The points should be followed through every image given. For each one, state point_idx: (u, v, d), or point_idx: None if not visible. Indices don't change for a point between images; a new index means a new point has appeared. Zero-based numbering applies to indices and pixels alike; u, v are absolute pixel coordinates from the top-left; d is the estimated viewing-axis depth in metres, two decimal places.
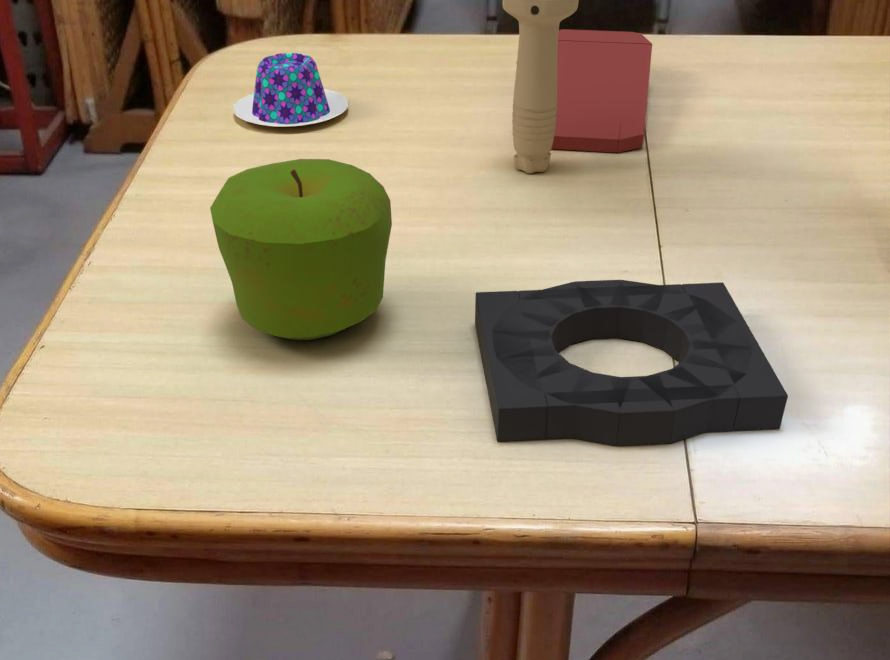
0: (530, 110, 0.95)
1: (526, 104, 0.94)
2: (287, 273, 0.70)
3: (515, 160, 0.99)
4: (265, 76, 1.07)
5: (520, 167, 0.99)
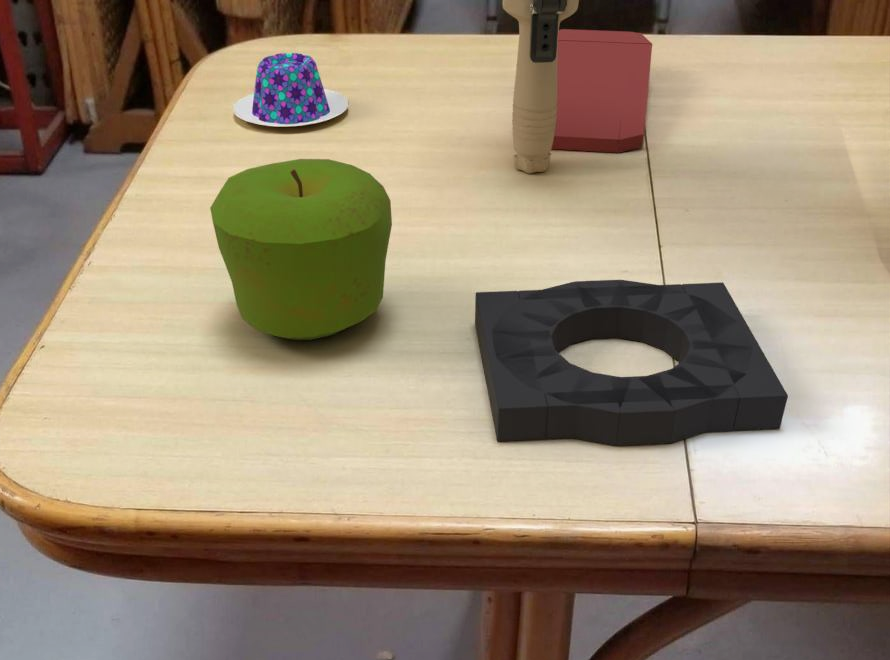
0: (530, 110, 0.95)
1: (526, 104, 0.94)
2: (287, 273, 0.70)
3: (515, 160, 0.99)
4: (265, 76, 1.07)
5: (520, 167, 0.99)
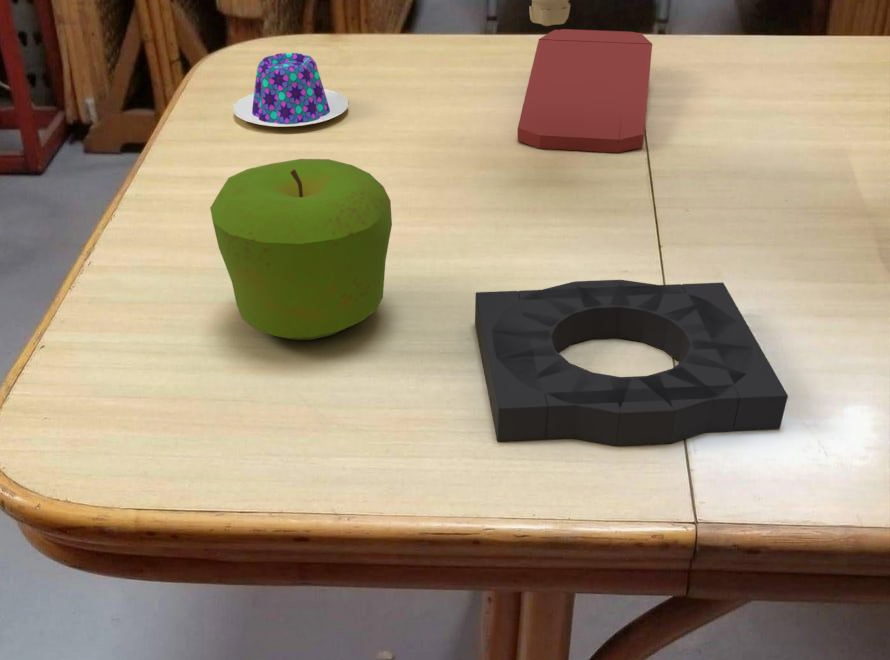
0: None
1: None
2: (287, 273, 0.70)
3: (530, 11, 0.89)
4: (265, 76, 1.07)
5: (536, 19, 0.89)
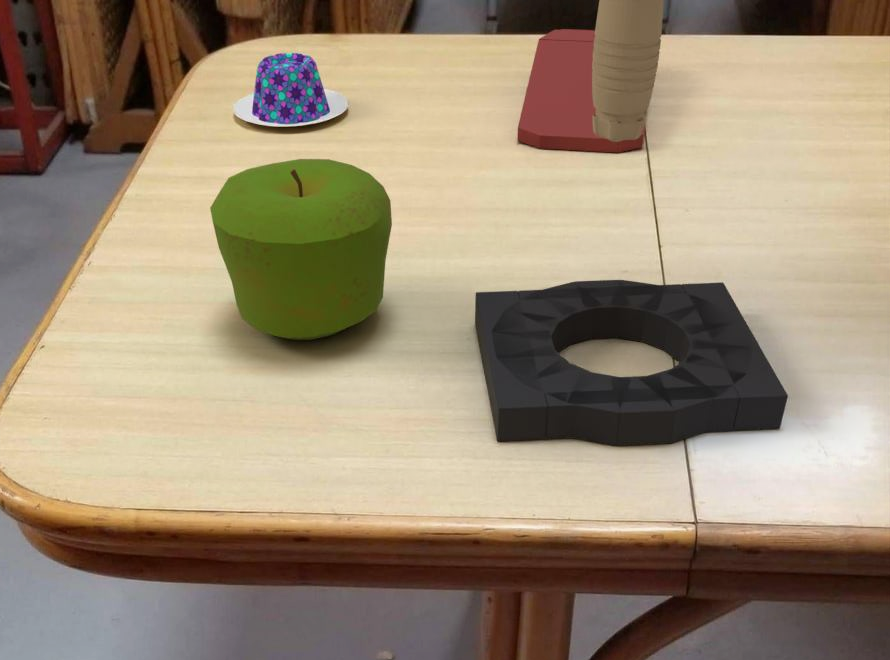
0: (621, 45, 0.63)
1: (616, 35, 0.63)
2: (287, 273, 0.70)
3: (594, 122, 0.67)
4: (265, 76, 1.07)
5: (601, 133, 0.67)
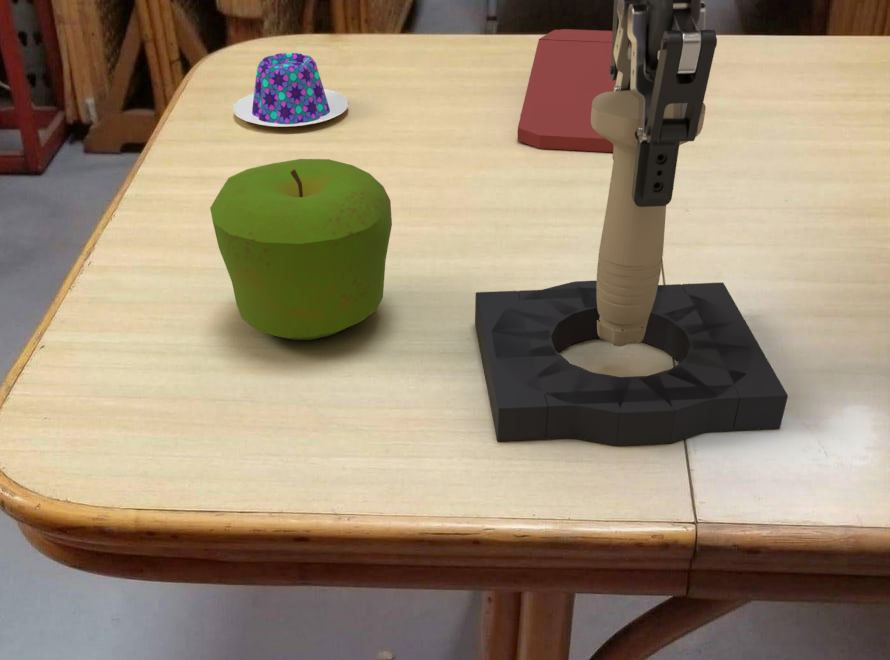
0: (625, 267, 0.66)
1: (620, 258, 0.66)
2: (287, 273, 0.70)
3: (599, 327, 0.70)
4: (265, 76, 1.07)
5: (606, 337, 0.70)
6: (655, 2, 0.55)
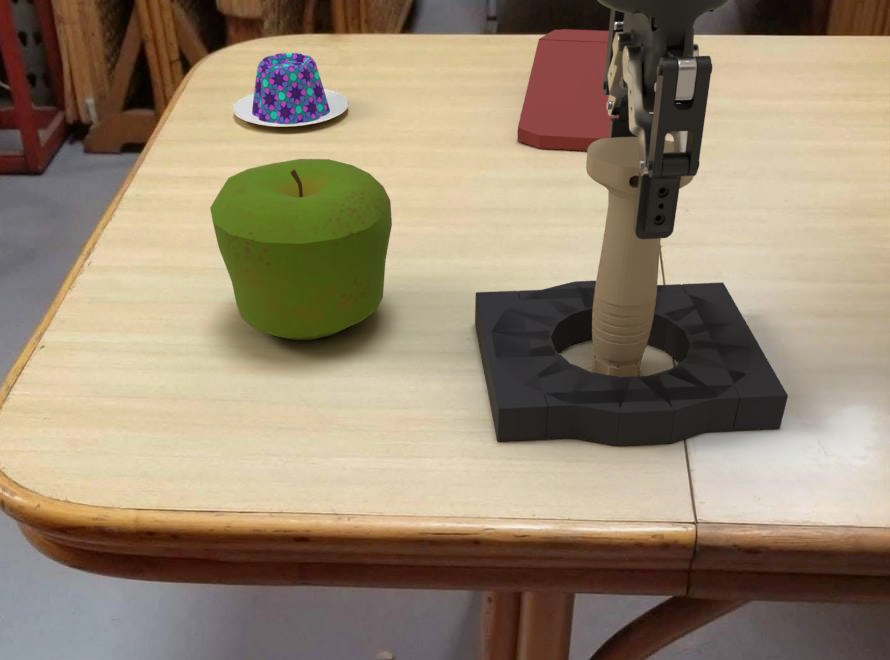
0: (620, 307, 0.68)
1: (614, 298, 0.67)
2: (287, 273, 0.70)
3: (594, 364, 0.72)
4: (265, 76, 1.07)
5: (601, 373, 0.72)
6: (649, 46, 0.56)
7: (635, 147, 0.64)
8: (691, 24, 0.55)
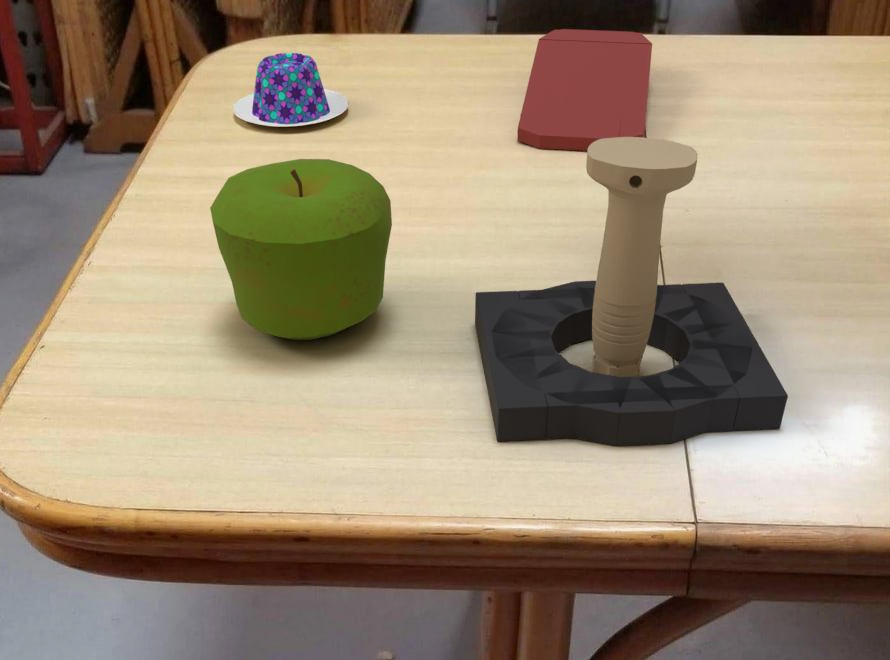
0: (620, 307, 0.68)
1: (614, 298, 0.67)
2: (287, 273, 0.70)
3: (594, 364, 0.72)
4: (265, 76, 1.07)
5: (601, 373, 0.72)
6: None
7: (635, 147, 0.64)
8: None
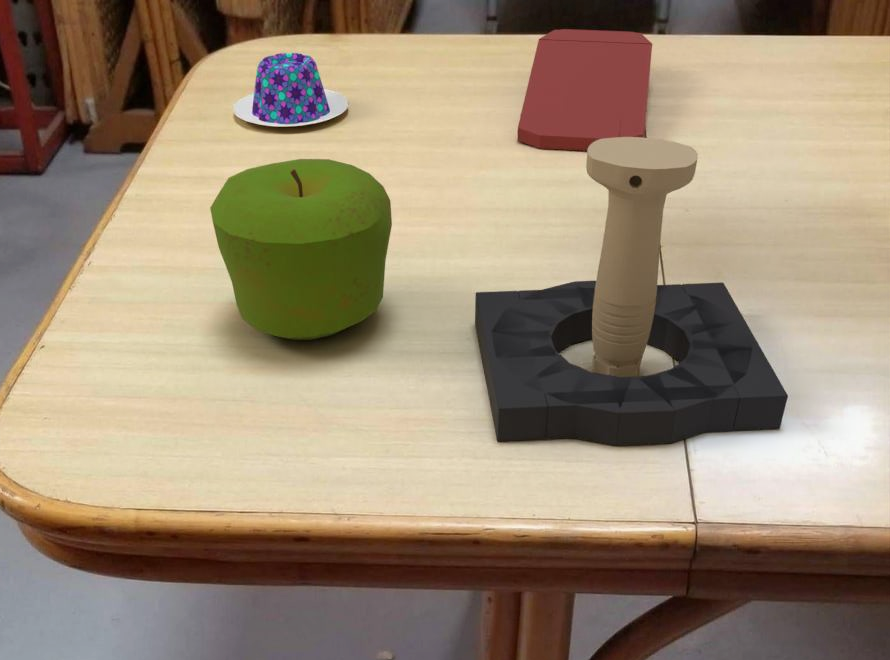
0: (620, 307, 0.68)
1: (614, 298, 0.67)
2: (287, 273, 0.70)
3: (594, 364, 0.72)
4: (265, 76, 1.07)
5: (601, 373, 0.72)
6: None
7: (635, 147, 0.64)
8: None
